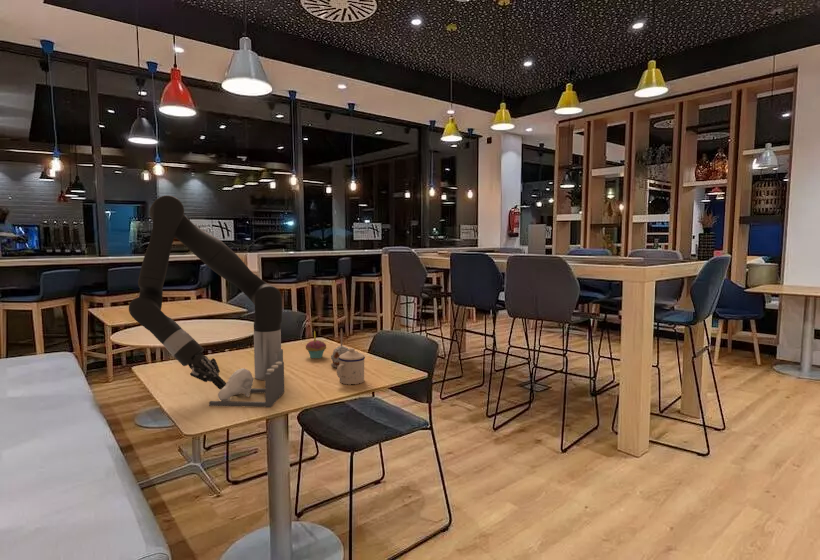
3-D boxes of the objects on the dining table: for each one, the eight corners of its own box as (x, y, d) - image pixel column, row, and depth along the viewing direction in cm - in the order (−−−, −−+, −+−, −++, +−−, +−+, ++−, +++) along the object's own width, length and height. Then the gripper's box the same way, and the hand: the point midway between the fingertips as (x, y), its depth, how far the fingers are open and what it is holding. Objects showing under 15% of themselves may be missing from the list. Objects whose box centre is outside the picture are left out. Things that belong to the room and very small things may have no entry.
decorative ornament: (328, 365, 182) (328, 327, 181) (346, 362, 186) (346, 326, 185) (336, 370, 176) (335, 331, 174) (354, 367, 179) (354, 329, 178)
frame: (285, 391, 150) (284, 359, 149) (271, 407, 136) (270, 372, 135) (227, 391, 151) (227, 359, 150) (208, 406, 137) (207, 371, 136)
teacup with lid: (350, 375, 168) (350, 344, 167) (370, 380, 163) (370, 347, 162) (327, 384, 158) (327, 351, 157) (347, 389, 153) (347, 354, 152)
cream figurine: (254, 367, 147) (226, 381, 136) (257, 392, 148) (228, 408, 137) (239, 365, 149) (210, 379, 138) (241, 390, 151) (213, 405, 140)
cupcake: (324, 360, 190) (323, 331, 189) (303, 359, 190) (302, 331, 189) (328, 354, 198) (327, 327, 197) (308, 354, 198) (307, 327, 197)
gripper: (180, 343, 135) (222, 385, 136) (201, 334, 149) (240, 372, 149) (163, 361, 136) (205, 402, 137) (186, 350, 149) (224, 388, 150)
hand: (223, 386), depth 143 cm, fingers closed
